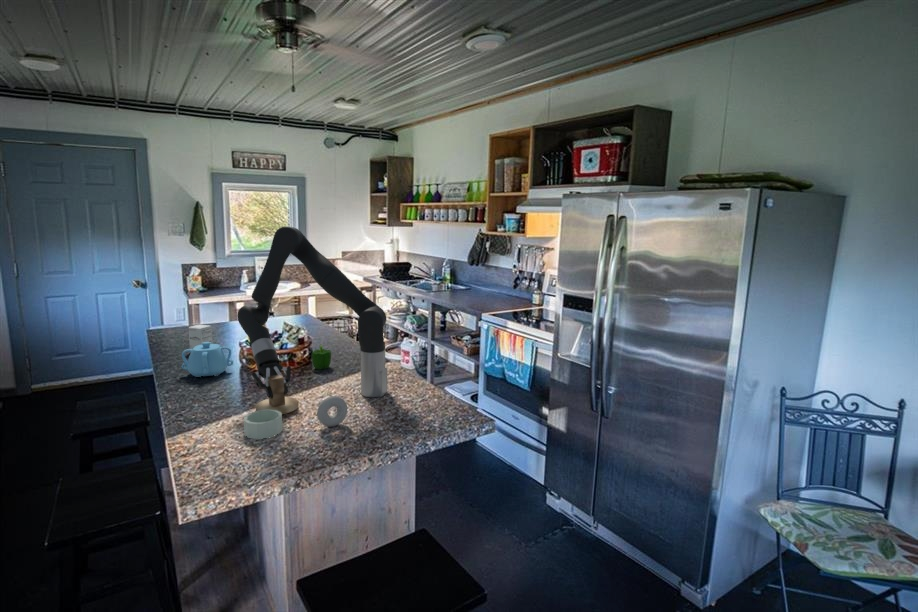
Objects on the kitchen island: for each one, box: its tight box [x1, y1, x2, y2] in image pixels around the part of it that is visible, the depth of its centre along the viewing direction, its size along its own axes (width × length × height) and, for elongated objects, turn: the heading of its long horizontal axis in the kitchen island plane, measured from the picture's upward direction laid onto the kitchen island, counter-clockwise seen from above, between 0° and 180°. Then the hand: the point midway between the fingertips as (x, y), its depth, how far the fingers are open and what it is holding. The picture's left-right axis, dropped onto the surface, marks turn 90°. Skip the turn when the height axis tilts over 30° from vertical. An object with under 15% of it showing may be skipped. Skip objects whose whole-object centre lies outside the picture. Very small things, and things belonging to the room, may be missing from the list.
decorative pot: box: [181, 342, 234, 378], centre depth 210 cm, size 16×16×14 cm
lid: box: [254, 375, 299, 415], centre depth 173 cm, size 14×14×11 cm
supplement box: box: [188, 323, 214, 349], centre depth 242 cm, size 7×7×13 cm
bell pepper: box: [311, 344, 332, 370], centre depth 221 cm, size 8×8×10 cm
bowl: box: [243, 409, 283, 440], centre depth 158 cm, size 11×11×5 cm
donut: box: [316, 395, 349, 428], centre depth 162 cm, size 10×4×10 cm, turn 125°
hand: (278, 396), depth 172 cm, fingers closed on lid, 4 cm apart
